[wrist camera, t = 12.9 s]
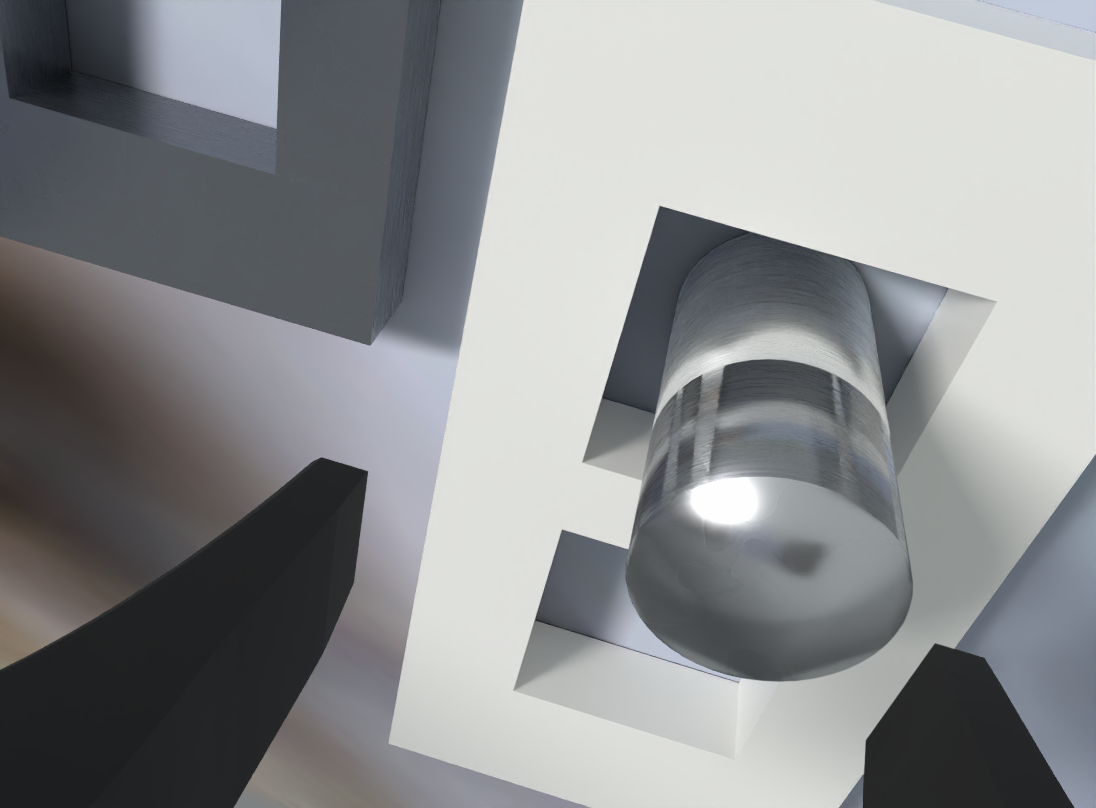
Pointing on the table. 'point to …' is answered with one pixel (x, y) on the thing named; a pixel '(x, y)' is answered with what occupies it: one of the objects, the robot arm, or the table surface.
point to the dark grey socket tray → (230, 165)
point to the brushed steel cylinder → (771, 472)
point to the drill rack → (624, 432)
